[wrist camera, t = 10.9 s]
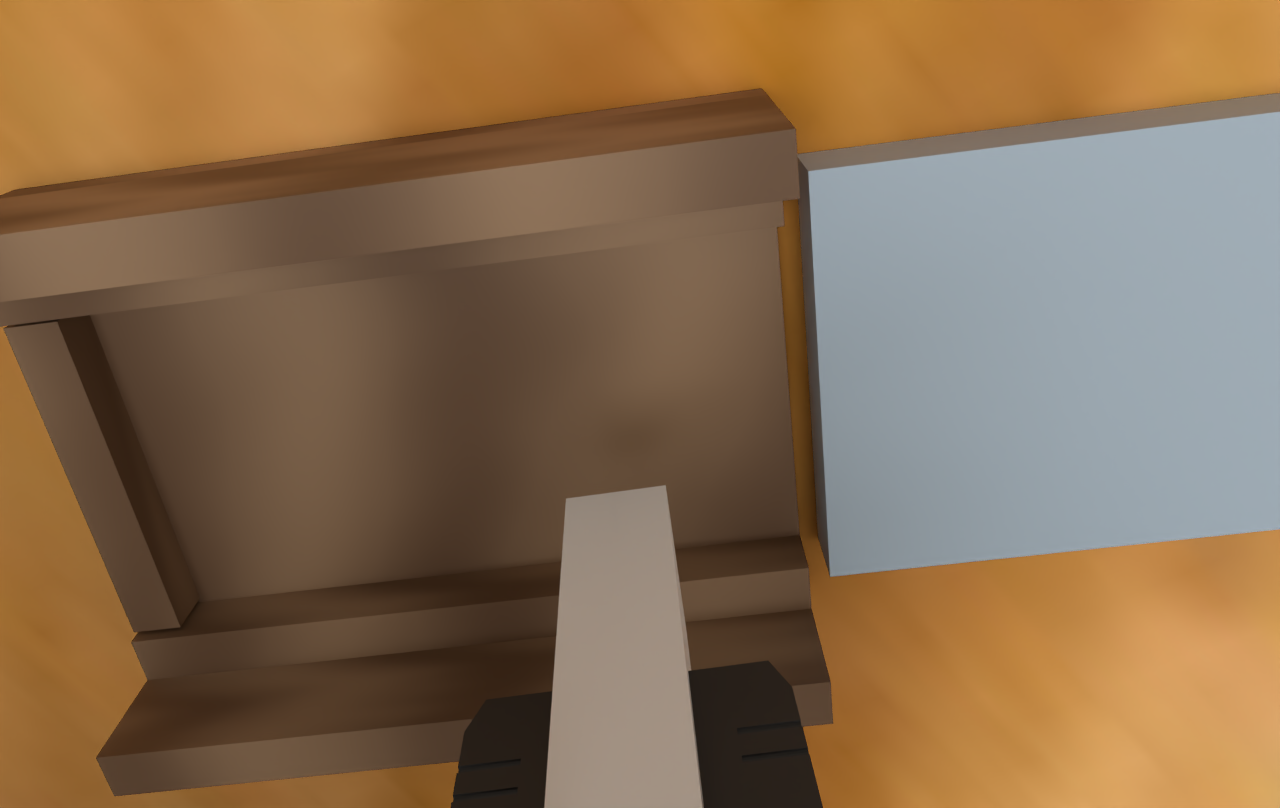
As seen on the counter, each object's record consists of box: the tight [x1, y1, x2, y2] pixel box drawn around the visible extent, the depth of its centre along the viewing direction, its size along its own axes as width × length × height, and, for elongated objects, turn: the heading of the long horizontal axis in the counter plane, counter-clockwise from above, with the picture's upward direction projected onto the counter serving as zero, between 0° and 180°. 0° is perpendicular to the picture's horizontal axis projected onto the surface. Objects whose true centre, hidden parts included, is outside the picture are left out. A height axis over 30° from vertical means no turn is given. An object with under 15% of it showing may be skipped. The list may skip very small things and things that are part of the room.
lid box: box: [0, 89, 833, 796], centre depth 19 cm, size 14×11×4 cm
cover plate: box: [797, 93, 1280, 577], centre depth 19 cm, size 10×8×2 cm
